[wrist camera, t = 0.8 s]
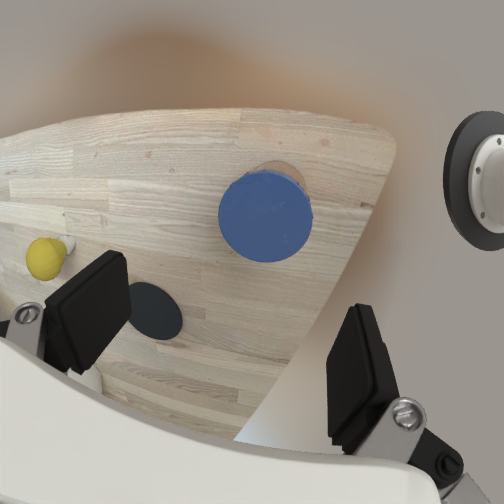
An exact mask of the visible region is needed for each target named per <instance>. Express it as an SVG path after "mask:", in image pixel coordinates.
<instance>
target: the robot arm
mask: <svg viewBox="0 0 504 504" xmlns="http://www.w3.org/2000/svg"><path fill="white" fill-rule="evenodd" d="M468 193H469V200H470V204H471V208H472V210H473V213H474V215H475V217H476V218H477V220H478V222H479V223H480V224H481V225H482V226H483V227H485V228H486V229H488V230H489V231H491V232H494V233H504V135H499V134H495V135H491V136H489V137H487V138H485V139H484V140H483V141H482V142H481V143H480V144H479V146H478V147H477V149H476V151H475V153H474V155H473V158H472V160H471V164H470V168H469V176H468ZM45 304H46V308H45V309H44V310H43V307H42V306H41V305H40V304H39V303H36V302H27V303H24V304H22V305H20V306H19V307H17V308H16V309H15V310H14V312H13V314H12V317H11V320H7V321H2V322H0V504H490V501H489V499H488V498H487V497H486V495H485V494H484V493H483V492H482V490H481V489H480V488H479V487H478V485H477V484H476V483H475V482H474V480H473V479H472V478H471V477H470V475H469V474H468V473H466V474H463V467H464V464H463V459H462V457H461V456H460V454H459V453H458V452H457V451H456V450H454V449H453V448H452V447H450V446H449V445H448V444H446V443H445V442H444V441H442V440H441V439H440V438H438V437H437V436H436V435H434V434H433V433H432V432H430V431H429V430H428V429H427V428H425V425H426V421H427V419H426V413H425V410H424V409H423V407H422V406H421V405H420V404H419V403H418V402H417V401H415V400H413V399H411V398H407V397H401V398H400V396H399V391H398V387H397V383H396V379H395V376H394V372H393V368H392V364H391V361H390V357H389V354H388V351H387V347H386V345H385V343H383V341H382V338H381V334H380V331H379V328H378V325H377V322H376V319H375V315H374V313H373V310H372V307H371V306H370V305H364V304H358V303H357V304H355V306H354V307H353V306H351V307H350V308H349V310H348V312H347V314H346V317H345V319H344V321H343V324H342V326H341V328H340V331H339V333H338V335H337V338H336V340H335V342H334V345H333V347H332V349H331V351H330V353H329V355H328V357H327V362H326V372H327V402H328V403H327V404H328V436H329V437H332V445H337V446H342V450H343V451H344V453H343V455H337V454H322V453H310V452H300V451H292V450H285V449H277V448H271V447H264V446H258V445H253V444H248V443H242V442H237V441H233V440H229V439H225V438H221V437H217V436H213V435H209V434H205V433H202V432H198V431H195V430H192V429H188V428H185V427H182V426H179V425H176V424H173V423H170V422H167V421H164V420H161V419H158V418H156V417H153V416H150V415H148V414H145V413H143V412H140V411H138V410H135V409H133V408H131V407H128V406H126V405H124V404H122V403H119V402H117V401H115V400H113V399H111V398H109V397H106V396H104V395H102V394H100V393H98V392H96V391H94V390H92V389H90V388H88V387H87V386H85V385H83V384H81V383H79V382H77V381H76V380H74V379H72V378H70V377H69V376H68V370H69V368H71V370H72V371H74V372H76V373H77V374H79V375H81V376H82V374H83V373H84V372H85V370H89V369H90V368H91V367H92V365H93V364H94V363H95V361H96V360H97V359H98V357H99V356H100V355H101V353H102V352H103V351H104V350H105V348H106V347H107V346H108V344H109V343H110V342H111V341H112V339H113V338H114V337H115V336H116V334H117V333H118V332H119V331H120V329H121V328H122V327H123V326H124V324H125V323H126V322H127V321H128V319H129V318H130V316H131V314H132V307H131V299H130V291H129V282H128V273H127V262H126V258H125V257H124V256H123V254H122V253H121V252H117V251H113V250H108V251H107V252H105V253H104V254H102V255H101V256H100V257H98V258H97V259H96V260H94V261H93V262H92V263H90V264H89V265H88V266H87V267H85V268H84V269H83V270H81V271H80V272H79V273H78V274H76V275H75V276H74V277H72V278H71V279H70V280H69V281H67V282H66V283H65V284H64V285H63V286H61V287H60V288H59V289H58V290H56V291H55V292H54V293H53V294H52V295H51V296H49V297H48V298H47V299H46V300H45Z"/></svg>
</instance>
